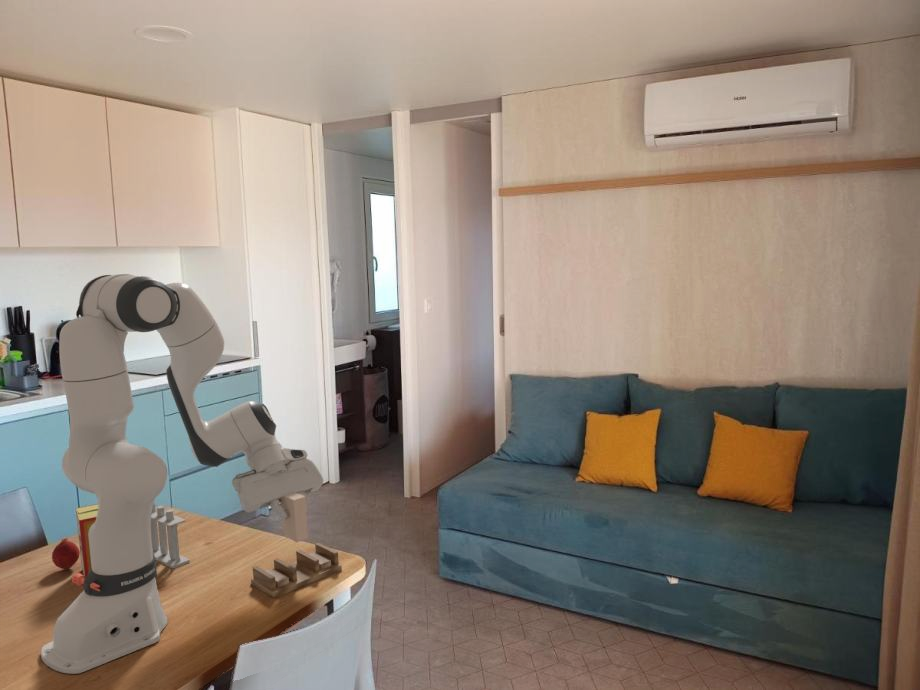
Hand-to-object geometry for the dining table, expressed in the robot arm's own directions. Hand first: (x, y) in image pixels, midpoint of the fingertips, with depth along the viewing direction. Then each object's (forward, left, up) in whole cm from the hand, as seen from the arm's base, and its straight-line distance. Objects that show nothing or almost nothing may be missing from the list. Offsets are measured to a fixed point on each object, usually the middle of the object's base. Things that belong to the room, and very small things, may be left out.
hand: (295, 515), depth 158 cm
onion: (-27, +52, -15) cm, 60 cm away
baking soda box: (-24, +43, -15) cm, 51 cm away
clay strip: (0, +1, -5) cm, 5 cm away
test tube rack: (-10, +42, -15) cm, 46 cm away
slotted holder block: (0, +1, -15) cm, 15 cm away
